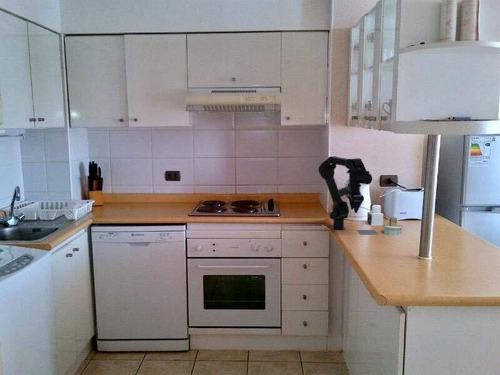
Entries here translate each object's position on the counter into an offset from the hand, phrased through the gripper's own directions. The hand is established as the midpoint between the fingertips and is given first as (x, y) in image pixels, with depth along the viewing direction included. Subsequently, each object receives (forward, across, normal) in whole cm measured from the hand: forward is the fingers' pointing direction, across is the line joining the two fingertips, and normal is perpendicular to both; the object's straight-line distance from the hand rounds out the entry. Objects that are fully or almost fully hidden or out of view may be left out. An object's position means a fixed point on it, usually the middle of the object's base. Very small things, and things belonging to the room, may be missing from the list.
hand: (353, 211), depth 233 cm
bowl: (+12, 0, +21) cm, 24 cm away
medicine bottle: (+13, -21, +17) cm, 30 cm away
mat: (+12, -2, +8) cm, 15 cm away
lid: (+8, 0, +21) cm, 23 cm away
